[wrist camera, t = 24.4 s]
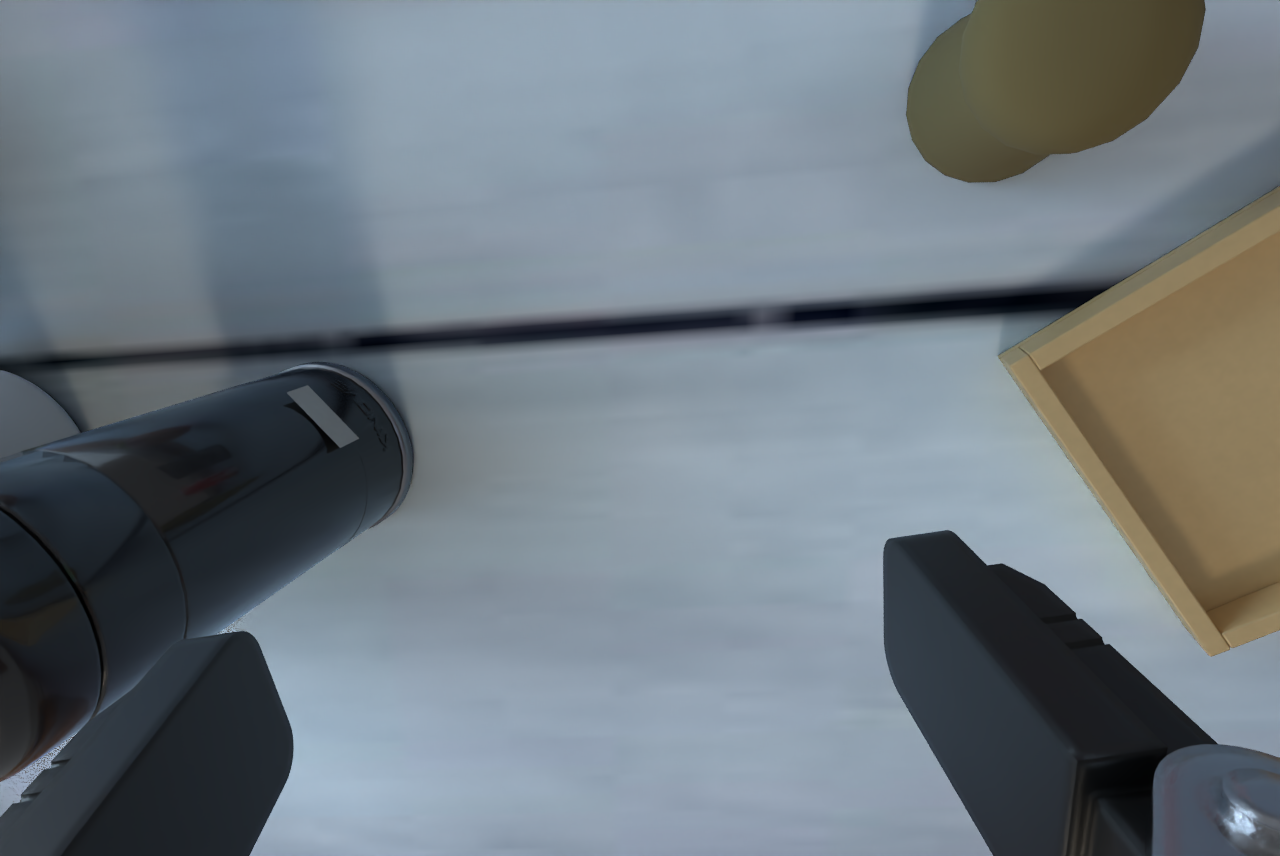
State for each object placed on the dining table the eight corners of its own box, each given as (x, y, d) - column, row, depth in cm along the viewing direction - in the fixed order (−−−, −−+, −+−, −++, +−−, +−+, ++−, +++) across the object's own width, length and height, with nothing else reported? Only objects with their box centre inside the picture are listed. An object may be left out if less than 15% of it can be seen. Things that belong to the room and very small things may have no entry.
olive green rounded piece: (911, 196, 28) (960, 190, 18) (900, 28, 26) (947, -85, 16) (1084, 166, 26) (1250, 140, 16) (1083, -16, 25) (1266, -173, 14)
